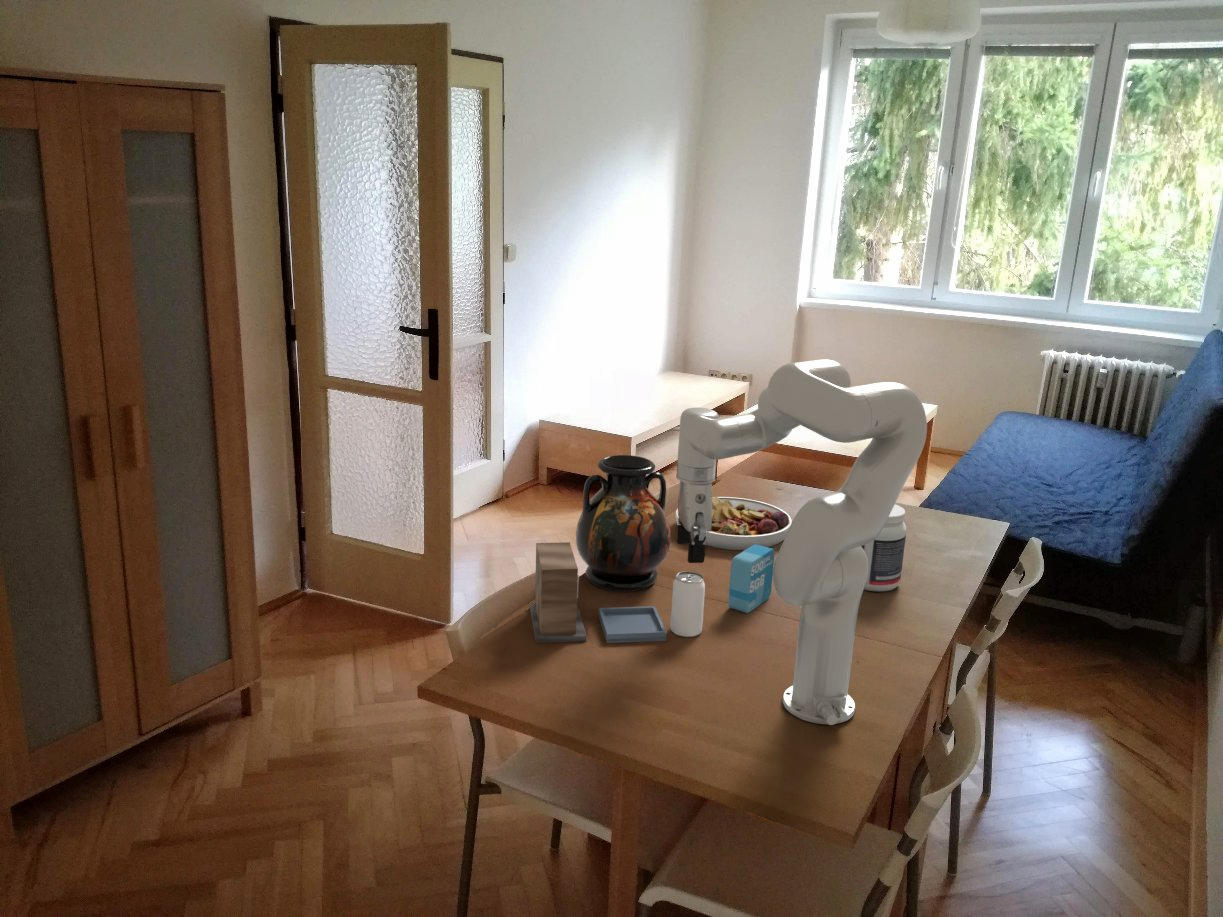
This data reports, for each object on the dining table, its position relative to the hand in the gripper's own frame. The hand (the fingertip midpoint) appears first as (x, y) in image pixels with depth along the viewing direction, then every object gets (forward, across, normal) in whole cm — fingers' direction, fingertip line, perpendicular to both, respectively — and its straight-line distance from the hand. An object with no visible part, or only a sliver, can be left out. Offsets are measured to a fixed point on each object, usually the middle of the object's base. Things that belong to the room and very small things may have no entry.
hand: (690, 552), depth 197 cm
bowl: (+18, +54, -25) cm, 63 cm away
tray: (+17, +2, +11) cm, 20 cm away
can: (+17, 0, 0) cm, 17 cm away
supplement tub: (+17, +20, -49) cm, 56 cm away
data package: (+17, +12, -17) cm, 27 cm away
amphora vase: (+18, +26, +9) cm, 33 cm away
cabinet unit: (+17, +5, +26) cm, 31 cm away
